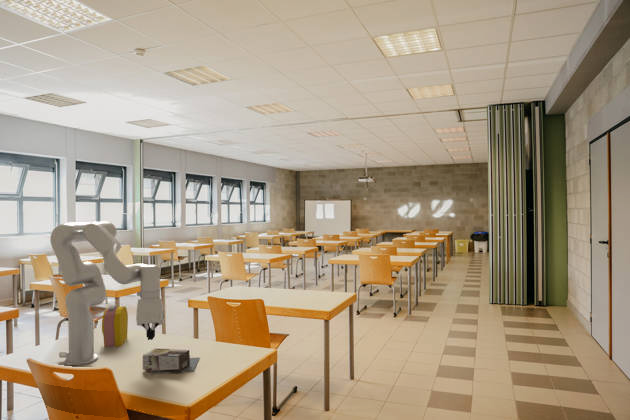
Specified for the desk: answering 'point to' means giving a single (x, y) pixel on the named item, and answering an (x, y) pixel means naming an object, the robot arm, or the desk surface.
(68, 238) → the robot arm
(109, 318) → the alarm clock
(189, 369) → the mat
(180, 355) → the coffee box
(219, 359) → the desk surface
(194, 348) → the desk surface
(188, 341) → the desk surface
